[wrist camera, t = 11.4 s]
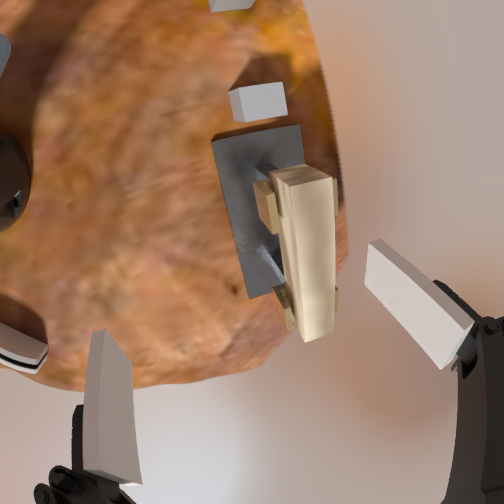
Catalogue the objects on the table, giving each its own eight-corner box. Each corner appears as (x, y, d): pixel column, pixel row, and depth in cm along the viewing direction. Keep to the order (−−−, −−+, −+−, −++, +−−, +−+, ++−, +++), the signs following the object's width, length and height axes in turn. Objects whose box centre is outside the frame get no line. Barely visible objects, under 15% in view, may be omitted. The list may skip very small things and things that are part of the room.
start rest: (234, 120, 32) (245, 122, 27) (206, -10, 21) (212, -29, 16) (270, 113, 32) (288, 114, 27) (243, -14, 22) (256, -32, 17)
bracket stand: (248, 295, 46) (273, 355, 35) (210, 141, 32) (230, 158, 21) (312, 274, 48) (350, 325, 37) (296, 123, 34) (354, 135, 23)
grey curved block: (-12, 329, 34) (-29, 350, 25) (-11, 311, 34) (-30, 330, 25) (48, 358, 42) (38, 385, 33) (50, 341, 42) (39, 366, 33)
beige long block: (289, 314, 37) (305, 342, 32) (268, 171, 26) (289, 186, 22) (315, 305, 37) (333, 331, 33) (304, 163, 27) (331, 177, 22)
